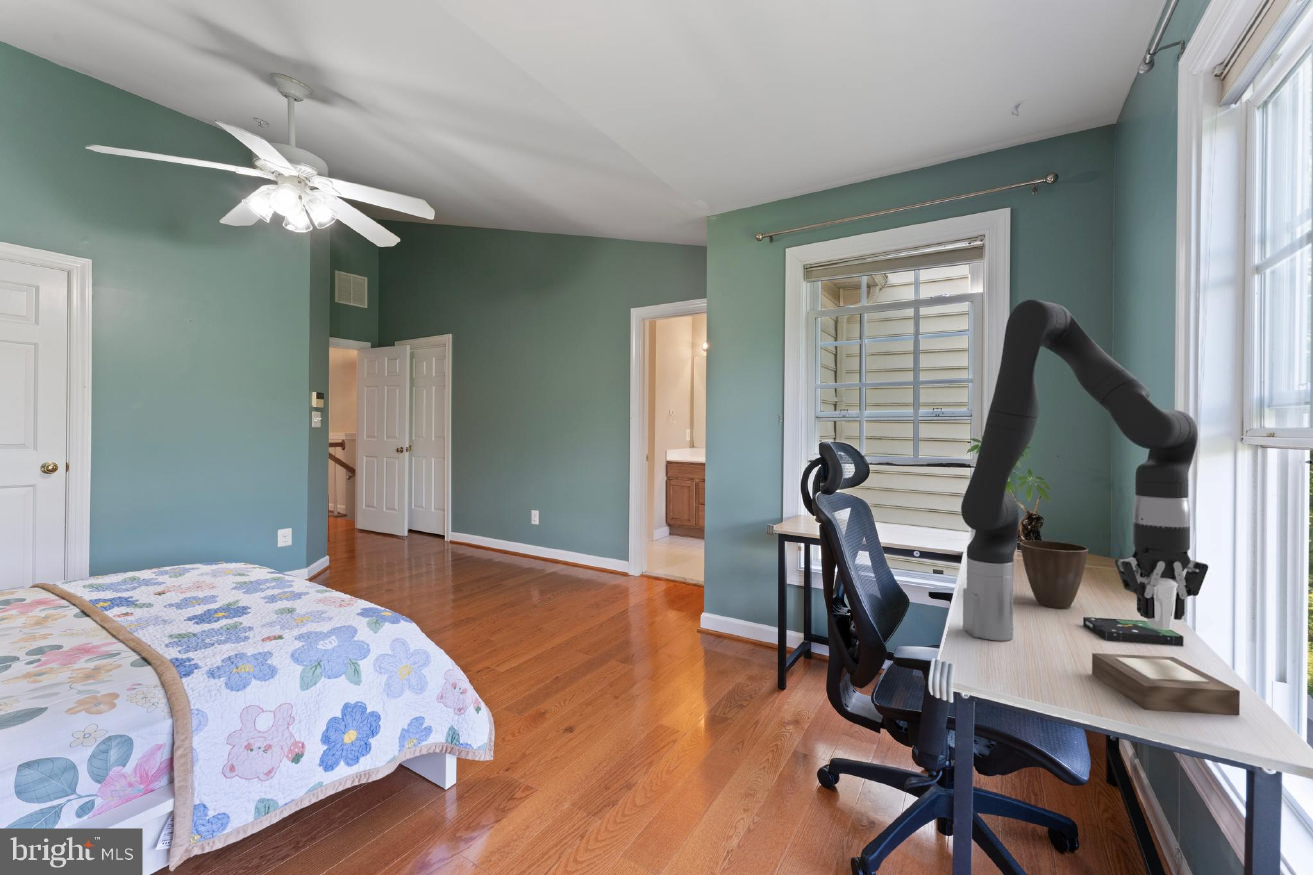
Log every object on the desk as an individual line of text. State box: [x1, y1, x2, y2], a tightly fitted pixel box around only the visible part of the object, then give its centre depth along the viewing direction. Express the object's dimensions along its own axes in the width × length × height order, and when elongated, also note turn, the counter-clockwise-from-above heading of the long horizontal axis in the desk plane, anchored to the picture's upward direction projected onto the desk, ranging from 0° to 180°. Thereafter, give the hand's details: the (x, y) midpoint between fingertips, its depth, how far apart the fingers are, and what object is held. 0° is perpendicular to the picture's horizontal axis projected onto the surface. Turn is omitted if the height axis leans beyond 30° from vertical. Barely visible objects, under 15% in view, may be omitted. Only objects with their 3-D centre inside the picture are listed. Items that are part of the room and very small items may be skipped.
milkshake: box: [1146, 577, 1178, 631], centre depth 100 cm, size 4×5×10 cm
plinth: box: [1091, 652, 1241, 716], centre depth 100 cm, size 14×14×4 cm
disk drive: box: [1082, 616, 1185, 647], centre depth 128 cm, size 10×3×15 cm
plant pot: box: [1019, 540, 1089, 610], centre depth 151 cm, size 15×15×16 cm
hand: (1160, 617), depth 100 cm, fingers closed on milkshake, 4 cm apart
